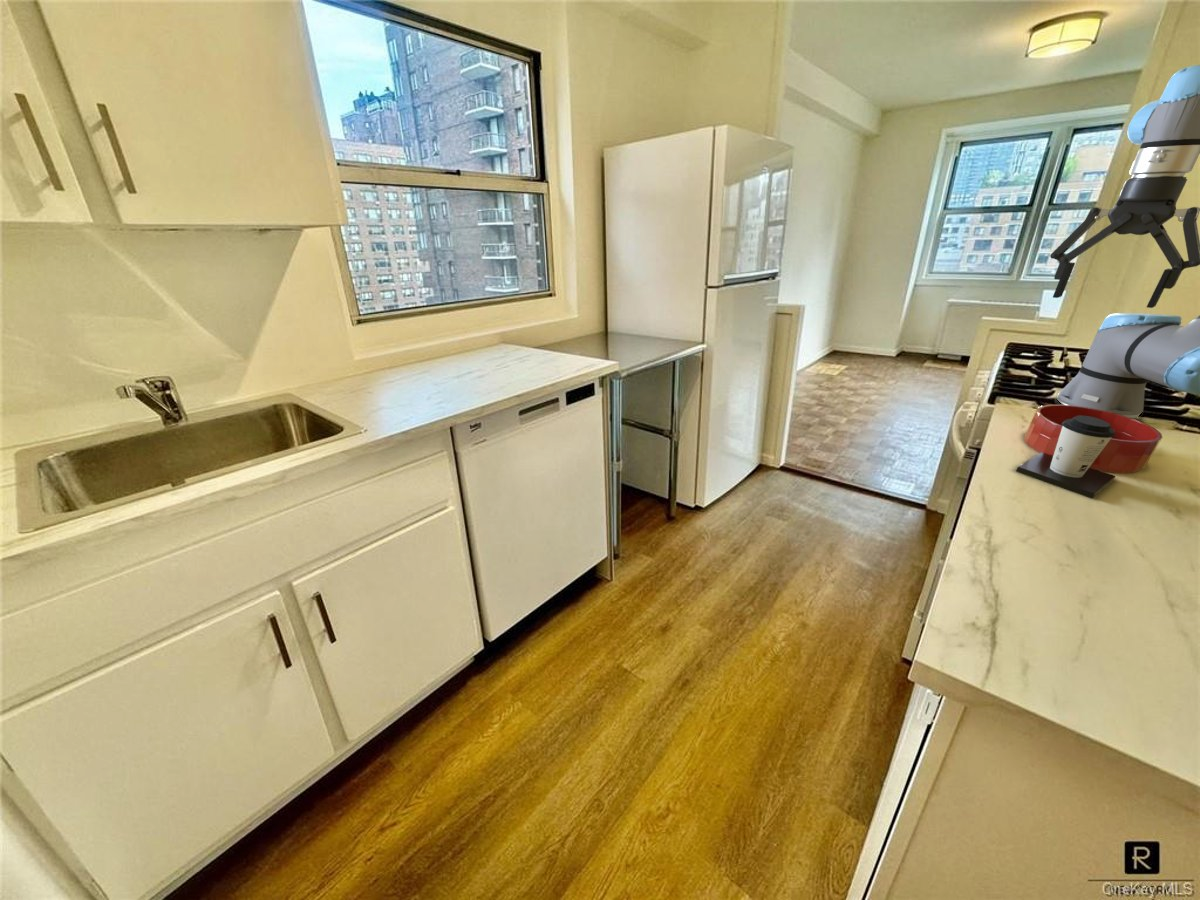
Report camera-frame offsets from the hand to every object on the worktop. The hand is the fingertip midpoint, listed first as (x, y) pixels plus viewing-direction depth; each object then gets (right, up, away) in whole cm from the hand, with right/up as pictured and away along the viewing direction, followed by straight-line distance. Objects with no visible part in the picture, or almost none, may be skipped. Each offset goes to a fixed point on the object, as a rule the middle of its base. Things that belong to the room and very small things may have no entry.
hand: (1101, 301), depth 94 cm
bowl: (0, -29, +4) cm, 29 cm away
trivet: (-12, -34, -5) cm, 36 cm away
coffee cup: (-12, -33, -5) cm, 35 cm away
